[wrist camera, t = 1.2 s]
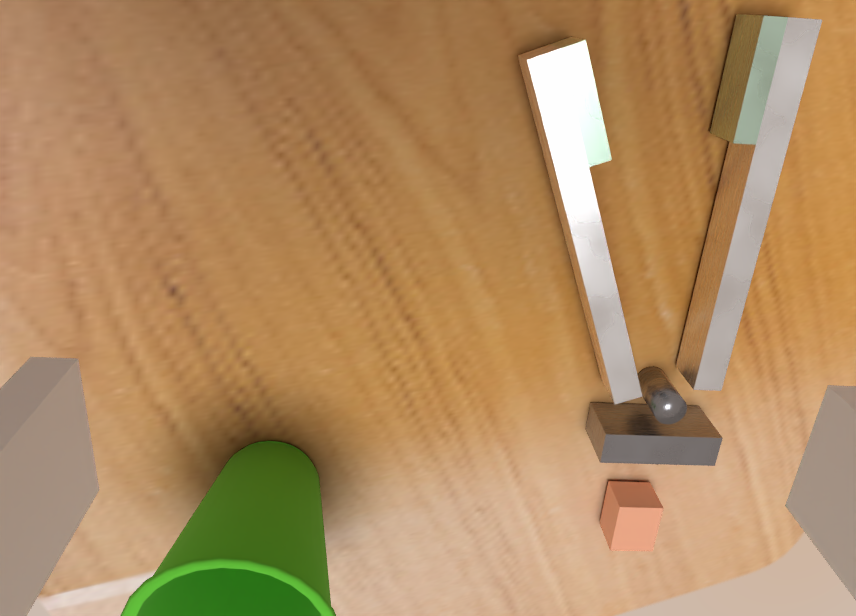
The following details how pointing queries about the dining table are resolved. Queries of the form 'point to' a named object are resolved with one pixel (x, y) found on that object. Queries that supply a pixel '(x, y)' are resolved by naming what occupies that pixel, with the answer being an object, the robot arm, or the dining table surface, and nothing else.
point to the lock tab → (630, 516)
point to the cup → (247, 544)
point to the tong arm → (581, 195)
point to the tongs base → (720, 245)
